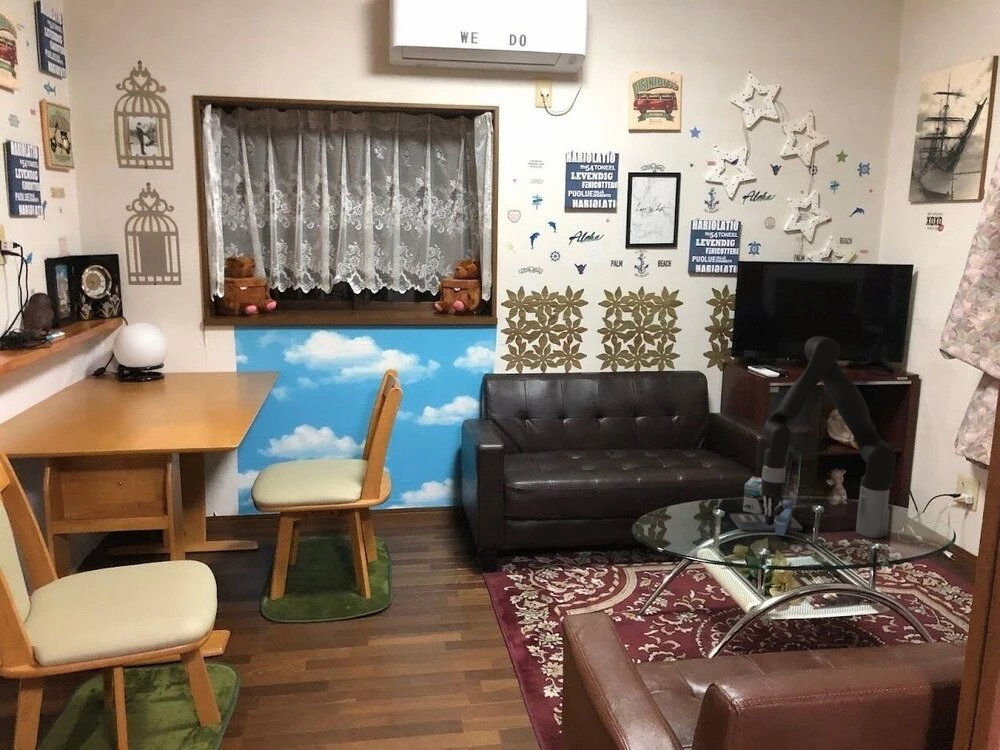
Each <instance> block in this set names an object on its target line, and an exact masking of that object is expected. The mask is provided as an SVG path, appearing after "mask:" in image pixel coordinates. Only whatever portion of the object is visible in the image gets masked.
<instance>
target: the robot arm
mask: <svg viewBox="0 0 1000 750" xmlns="http://www.w3.org/2000/svg"><path fill="white" fill-rule="evenodd" d="M804 354H805V356H806V358H807V360H808V364H807V366H806V368H805V370H804V371H803V372H802V374H801V375H800V376H799V378H798V379H797V380H796V381H795V382H794V383H793V384H792V385H791V386H790V388H789V389H788V390H787V392H786V393H785V395H784V397H783V399H782V400H781V402H780V404H779V406H778V407H777V408H776V410H774V412H773V413H772V414H771V415H770V416H769V417H768V419H766V421H765V423H764V425H763V426H762V427H763V428H762V433H763V436H764V437H765V438H766V439H767V440H769V441H770V445H769V446H770V447H768V448H766V449H765V450H764V455H763V466H762V470H761V478H762V481H761V490H762V492H761V494H759V495H756V498H757V500H758V503H759V505H760V508H761V510H762V511H763V512H764V514H766V516H765V522H766V525H768V526H771V525H773V524H774V517H775V516H777V515H780V514H781V513H782V512H783V511H784V510H785V509H786V508H787V505H786V504H785V505H784V504H783V496H782V495H783V493H784V491H785V490H784V489H785V481H786V480H785V478H786V459H787V458H786V457H787V453H788V451H789V449H790V445H791V442H792V431H791V430H790V429H791V428H790V427H788V426H787V424H788V423H789V422H790V421H794V420H795V421H796V420H797V419H798V418H799V416H800V414H801V412H802V411H803V409H804V407H805V405H806V403H807V402H808V399H809V398H810V397H811V394H812V393H813V392H814V390H815V389H816V387H817V385H818V384H819V383H820V381H822V382H823V385H824V387H825V389H826V392H827V394H828V395H829V397H830V399H831V401H832V403H833V405H834V407H835V409H836V411H837V413H838V414H839V416H840V417H841V419H842V421H843V422H844V424H845V425H846V427H847V428H848V430H849V431H850V432H851V434H852V436H853V438H854V441H855V443H856V445H857V448H858V450H859V453H860V456H861V457H862V460H863V461H864V462H865V463H866V465H865V473H864V475H863V476H861V479H860V488H859V498H858V505H857V516H856V525H855V526H856V527H855V532H856V533H857V534H859V535H861V536H863V537H866V538H871V539H872V538H873V539H878V538H879V539H880V538H883V537H887V536H888V533H889V520H890V514H891V511H890V509H889V497H890V488H891V484H892V483H893V480H894V476H895V475H894V474H895V468H896V463H897V462H896V460H897V459H896V458H897V457H896V456H897V455H896V453H895V450H894V449H893V448H892V447H891V446H890V445H888V444H887V443H886V442H885V441H884V440H883V439H882V437H881V436H880V434H879V433H878V431H877V430H876V428H875V427H874V425H873V423H872V420H871V416H870V415H871V414H870V411H869V407H868V405H867V403H866V400H865V399H864V397H863V395H862V393H861V391H860V389H859V388H858V387H857V386H856V384H855V383H854V381H852V379H850V378H849V376H848V375H847V374H846V373H845V372H844V370H843V369H842V368H841V367H840V365H839V363H838V361H837V360H838V358H839V355H840V346H839V343H838V342H837V341H836V340H835V339H833V338H830V337H826V336H820V335H819V336H818V335H817V336H816V335H815V336H812V337H810V338H808V339H807V340H806V342H805V343H804ZM763 504H764V506H763Z"/></svg>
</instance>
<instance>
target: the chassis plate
mask: <svg viewBox="0 0 1000 750" xmlns="http://www.w3.org/2000/svg"><path fill="white" fill-rule="evenodd" d="M765 516H766V514H765V513H761V514H756V513H730V514H729V518H731V520H732V522H734V525H736V527H737V528H738V529H739V531H740V530H747V532H751V531H752V532H758V531H759V532H771V531H773V532H775V527H776V522H777V519H778V517H779V515H777V516H775V517H774V524H773V525H771V526H768V525H766V522H765ZM803 530H804V527H803V525H801V524H800V523H799V521H797V519H795V518H794V517H793V516H792V519H790V522H789V524H788V527H787V530H786V532H789V531H790V532H794V531H795V532H796V531H797V532H798V531H799V532H803Z"/></svg>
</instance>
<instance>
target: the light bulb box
mask: <svg viewBox="0 0 1000 750" xmlns="http://www.w3.org/2000/svg"><path fill="white" fill-rule="evenodd" d="M761 481H762V477H756V476H752V477H751V478H750V479H749V480H748V481H747V482H745V484H744V492H743V493H744V494H743V507H742V511H743V512H746V513H750V514H763V512H764V511H762V510H761V508H760V505H759V503H758V500H757V498H756V495H759V494H761V492H762V490H761ZM763 506H764V504H763Z"/></svg>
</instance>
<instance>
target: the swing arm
mask: <svg viewBox="0 0 1000 750" xmlns="http://www.w3.org/2000/svg"><path fill="white" fill-rule="evenodd" d="M782 502H783V504H784V505H785V504H786V505H787V508H786V509H785V510H784V511H783V512H782V513H781V514H780V515H779V517H778V519H777V522H776V527H775V531H774V535H777V536H783V537H785V534H786V533H787V531H786V530H787V527H788V524H789V522H790V519H792V517H793V508H794V507H793V506H794V502H793V501H792V500H790V499H782Z"/></svg>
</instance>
